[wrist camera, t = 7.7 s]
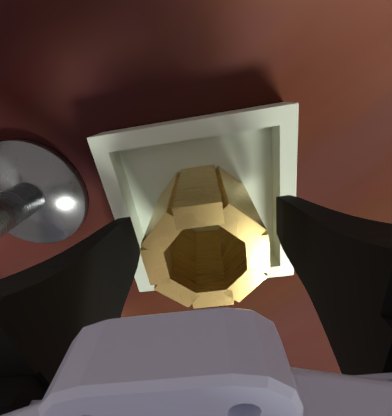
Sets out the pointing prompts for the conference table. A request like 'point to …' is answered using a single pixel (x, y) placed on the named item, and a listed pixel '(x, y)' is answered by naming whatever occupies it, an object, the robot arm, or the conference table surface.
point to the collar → (205, 240)
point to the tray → (201, 156)
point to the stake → (39, 192)
